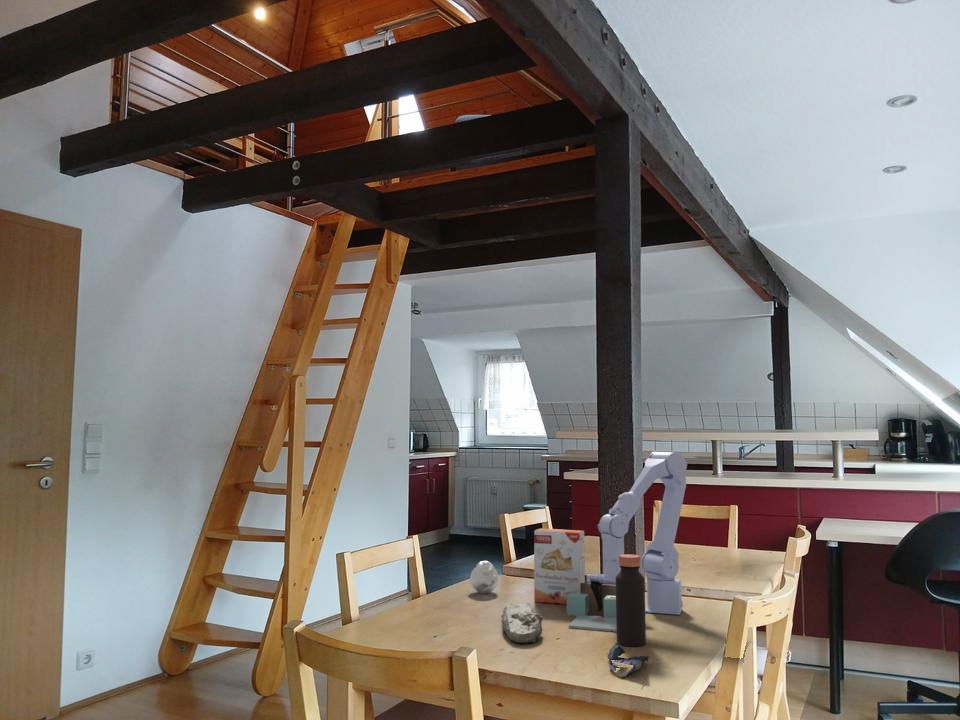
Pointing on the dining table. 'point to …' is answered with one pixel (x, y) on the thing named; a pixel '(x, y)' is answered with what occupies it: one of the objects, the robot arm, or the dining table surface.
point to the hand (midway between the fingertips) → (614, 611)
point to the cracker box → (558, 564)
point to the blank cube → (577, 604)
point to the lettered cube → (610, 606)
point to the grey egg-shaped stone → (484, 577)
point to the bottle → (630, 602)
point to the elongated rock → (521, 622)
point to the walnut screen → (586, 589)
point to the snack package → (625, 659)
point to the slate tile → (594, 623)
